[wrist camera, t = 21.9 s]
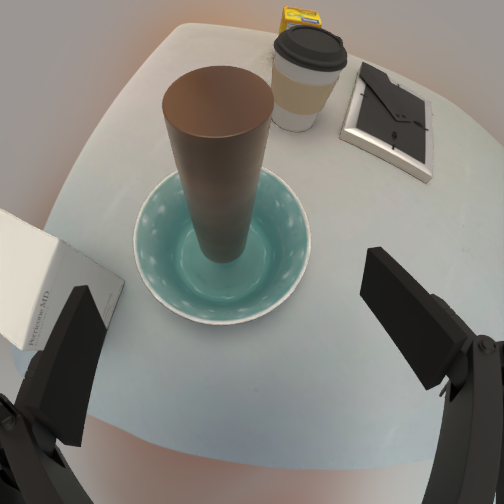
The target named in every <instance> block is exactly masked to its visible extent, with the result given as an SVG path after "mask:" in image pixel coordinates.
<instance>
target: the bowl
mask: <svg viewBox="0 0 504 504" xmlns="http://www.w3.org/2000/svg"><path fill="white" fill-rule="evenodd" d="M310 249H311V233H310V226H309V222H308V218H307V215H306V213H305V210H304V208H303V206H302V204H301V202H300V200H299V199H298V197H297V195H296V194H295V193H294V191H293V190H292V189H291V188H290V187H289V186H288V185H287V184H286V183H285V182H284V181H283V180H282V179H281V178H280V177H279V176H277V175H276V174H274V173H273V172H271V171H269V170H268V169H266V168H264V167H261V172H260V177H259V182H258V187H257V192H256V197H255V202H254V207H253V212H252V217H251V222H250V227H249V232H248V237H247V242H246V246H245V249H244V251H243V253H242V254H241V256H240V257H239V258H237V259H236V260H234V261H232V262H229V263H215V262H213V261H211V260H209V259H208V258H206V257H205V256H204V254H203V253H202V251H201V249H200V247H199V243H198V240H197V237H196V233H195V230H194V227H193V223H192V220H191V216H190V213H189V209H188V206H187V202H186V199H185V195H184V192H183V188H182V184H181V181H180V177H179V173H178V170H176V171H174V172H173V173H171V174H170V175H168V176H167V177H165V178H164V179H163V180H162V181H161V182H160V183H159V184H158V185H157V186H156V187H155V188H154V189H153V190H152V191H151V193H150V194H149V195H148V197H147V198H146V200H145V202H144V203H143V205H142V207H141V209H140V212H139V214H138V217H137V220H136V223H135V228H134V234H133V252H134V258H135V262H136V265H137V269H138V271H139V274H140V276H141V278H142V280H143V282H144V284H145V285H146V287H147V288H148V289H149V291H150V292H151V293H152V295H153V296H154V297H155V298H156V299H157V300H158V301H159V302H161V303H162V304H163V305H164V306H165V307H167V308H168V309H170V310H171V311H173V312H174V313H176V314H178V315H180V316H182V317H184V318H187V319H189V320H192V321H195V322H199V323H203V324H210V325H233V324H239V323H244V322H248V321H251V320H254V319H256V318H259V317H261V316H263V315H265V314H267V313H268V312H270V311H272V310H273V309H275V308H276V307H278V306H279V305H280V304H281V303H283V302H284V301H285V300H286V299H287V298H288V297H289V296H290V295H291V294H292V292H293V291H294V290H295V288H296V287H297V285H298V284H299V282H300V281H301V279H302V277H303V275H304V272H305V270H306V267H307V264H308V261H309V256H310Z"/></svg>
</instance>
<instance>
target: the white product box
mask: <svg viewBox="0 0 504 504" xmlns="http://www.w3.org/2000/svg"><path fill="white" fill-rule="evenodd" d="M123 284H124V280H122V279H121V278H119V277H117V276H116V275H114V274H112V273H111V272H109V271H108V270H106V269H104V268H103V267H101V266H100V265H98V264H97V263H95V262H94V261H92V260H91V259H89V258H87V257H86V256H84V255H83V254H82V253H80V252H79V251H77V250H76V249H74V248H73V247H71V246H70V245H68V244H67V243H65V242H64V241H62V240H61V239H59V238H56V237H54V236H52V235H50V234H48V233H46V232H44V231H42V230H40V229H38V228H36V227H34V226H32V225H30V224H28V223H27V222H25V221H23V220H21V219H19V218H17V217H16V216H14V215H12V214H11V213H9V212H7V211H5V210H3V209H1V208H0V333H1V334H2V335H3V336H4V337H5V338H6V339H8V340H9V341H10V342H11V343H13V344H14V345H15V346H16V347H18V348H19V349H20V350H22V351H39V350H44V348H45V345H46V343H47V341H48V338H49V336H50V334H51V332H52V330H53V328H54V325H55V323H56V321H57V319H58V317H59V315H60V313H61V311H62V309H63V307H64V305H65V303H66V301H67V299H68V297H69V295H70V293H71V292H72V290H73V288H74V286H82V285H88V287H89V289H90V292H91V294H92V297H93V299H94V301H95V304H96V306H97V308H98V311H99V313H100V315H101V317H102V320H103V322H104V324H105V326H106V328H108V325H109V323H110V320H111V317H112V314H113V311H114V308H115V306H116V303H117V300H118V298H119V295H120V292H121V290H122V287H123Z"/></svg>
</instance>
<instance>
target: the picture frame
mask: <svg viewBox="0 0 504 504" xmlns="http://www.w3.org/2000/svg"><path fill="white" fill-rule="evenodd" d="M339 138H340V139H342V140H344V141H347V142H349V143H351V144H353V145H355V146H357V147H359V148H361V149H363V150H366V151H368V152H370V153H372V154H374V155H376V156H378V157H380V158H381V159H383V160H385V161H387V162H389V163H391V164H393V165H395V166H397V167H398V168H400V169H402V170H404V171H406V172H407V173H409V174H411V175H413V176H414V177H416V178H418V179H420V180H421V181H423V182H425V183H427V182H428V181H429V180H431V179H432V178H433V120H432V105H431V101H429V100H428V99H426V98H424V97H423V96H421V95H419V94H418V93H416V92H414V91H413V90H411V89H409V88H407V87H406V86H404V85H402V84H400V83H398V82H396V81H394V80H393V79H391V78H389V77H388V76H387V74H386V73H384V72H382V71H380V70H378V69H376V68H374V67H372V66H370V65H368V64H366V63H364V62H362V65H361V67H360V69H359V71H358V74H357V78H356V82H355V85H354V89H353V92H352V96H351V99H350V103H349V106H348V110H347V113H346V117H345V120H344V123H343V127H342V130H341V133H340V137H339Z"/></svg>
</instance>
